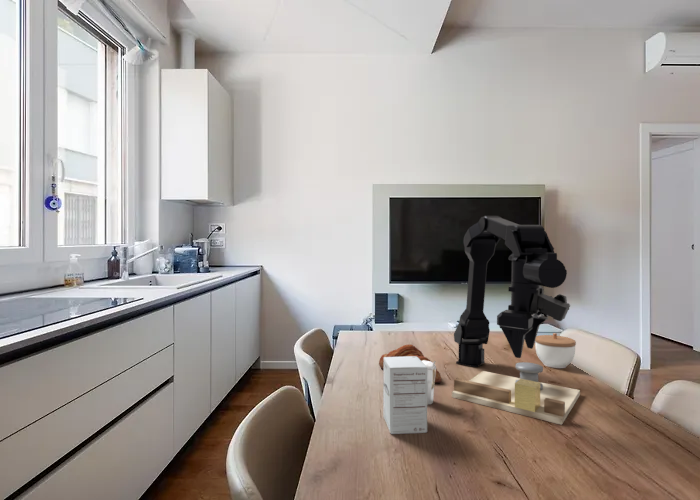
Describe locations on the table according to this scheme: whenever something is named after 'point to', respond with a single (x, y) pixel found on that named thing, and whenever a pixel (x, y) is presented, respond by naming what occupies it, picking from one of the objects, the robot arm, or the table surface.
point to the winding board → (502, 396)
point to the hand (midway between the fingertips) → (524, 352)
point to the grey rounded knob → (529, 371)
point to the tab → (527, 395)
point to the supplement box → (405, 395)
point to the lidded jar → (555, 350)
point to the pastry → (408, 351)
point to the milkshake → (430, 380)
